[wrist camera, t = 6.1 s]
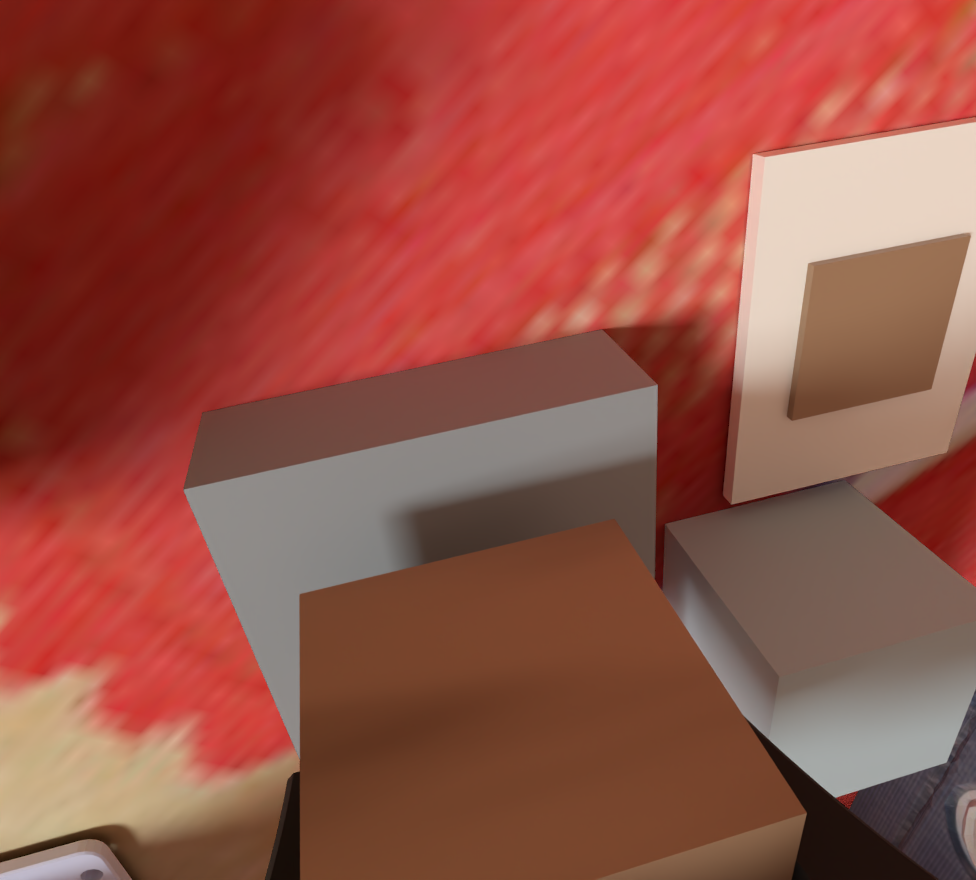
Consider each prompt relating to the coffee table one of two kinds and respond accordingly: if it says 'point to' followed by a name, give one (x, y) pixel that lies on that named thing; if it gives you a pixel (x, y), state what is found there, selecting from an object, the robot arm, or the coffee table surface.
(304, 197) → the coffee table surface
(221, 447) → the slate base
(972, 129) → the card
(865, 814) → the vhs cassette tape
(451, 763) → the walnut block
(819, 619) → the gray block
